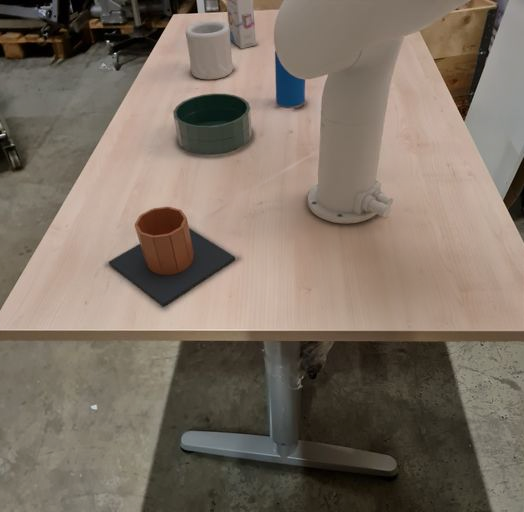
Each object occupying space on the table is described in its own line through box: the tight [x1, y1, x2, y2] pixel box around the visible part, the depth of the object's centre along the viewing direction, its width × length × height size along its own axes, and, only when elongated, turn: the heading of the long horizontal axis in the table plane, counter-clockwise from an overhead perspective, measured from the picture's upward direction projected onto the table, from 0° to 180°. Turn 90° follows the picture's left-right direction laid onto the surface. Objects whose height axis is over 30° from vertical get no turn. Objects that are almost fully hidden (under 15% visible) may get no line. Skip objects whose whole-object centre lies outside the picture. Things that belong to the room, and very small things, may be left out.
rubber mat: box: [108, 227, 236, 308], centre depth 74 cm, size 14×14×1 cm
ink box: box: [225, 0, 257, 50], centre depth 132 cm, size 9×5×12 cm, turn 25°
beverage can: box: [274, 50, 306, 109], centre depth 104 cm, size 6×6×12 cm
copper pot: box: [134, 206, 194, 275], centre depth 71 cm, size 7×8×7 cm
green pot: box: [172, 93, 253, 156], centre depth 98 cm, size 15×15×6 cm
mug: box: [185, 20, 234, 80], centre depth 120 cm, size 14×11×10 cm
